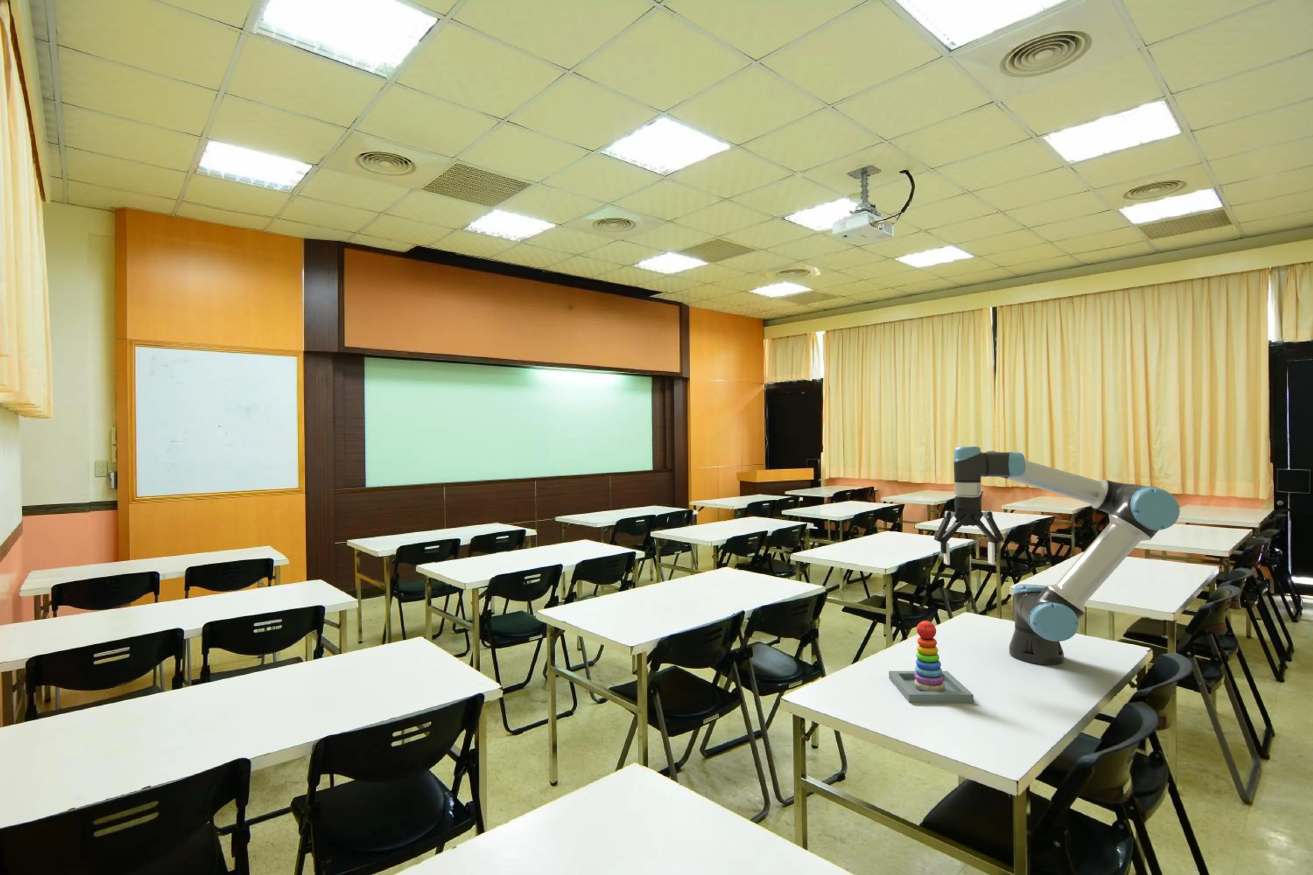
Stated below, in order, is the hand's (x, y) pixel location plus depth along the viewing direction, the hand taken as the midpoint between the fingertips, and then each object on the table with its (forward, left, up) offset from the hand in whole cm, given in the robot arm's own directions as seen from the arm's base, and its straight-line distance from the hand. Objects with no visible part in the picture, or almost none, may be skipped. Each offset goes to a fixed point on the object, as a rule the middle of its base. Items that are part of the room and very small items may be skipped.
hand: (969, 563), depth 193 cm
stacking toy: (+20, +19, -31) cm, 42 cm away
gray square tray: (+20, +19, -32) cm, 42 cm away
